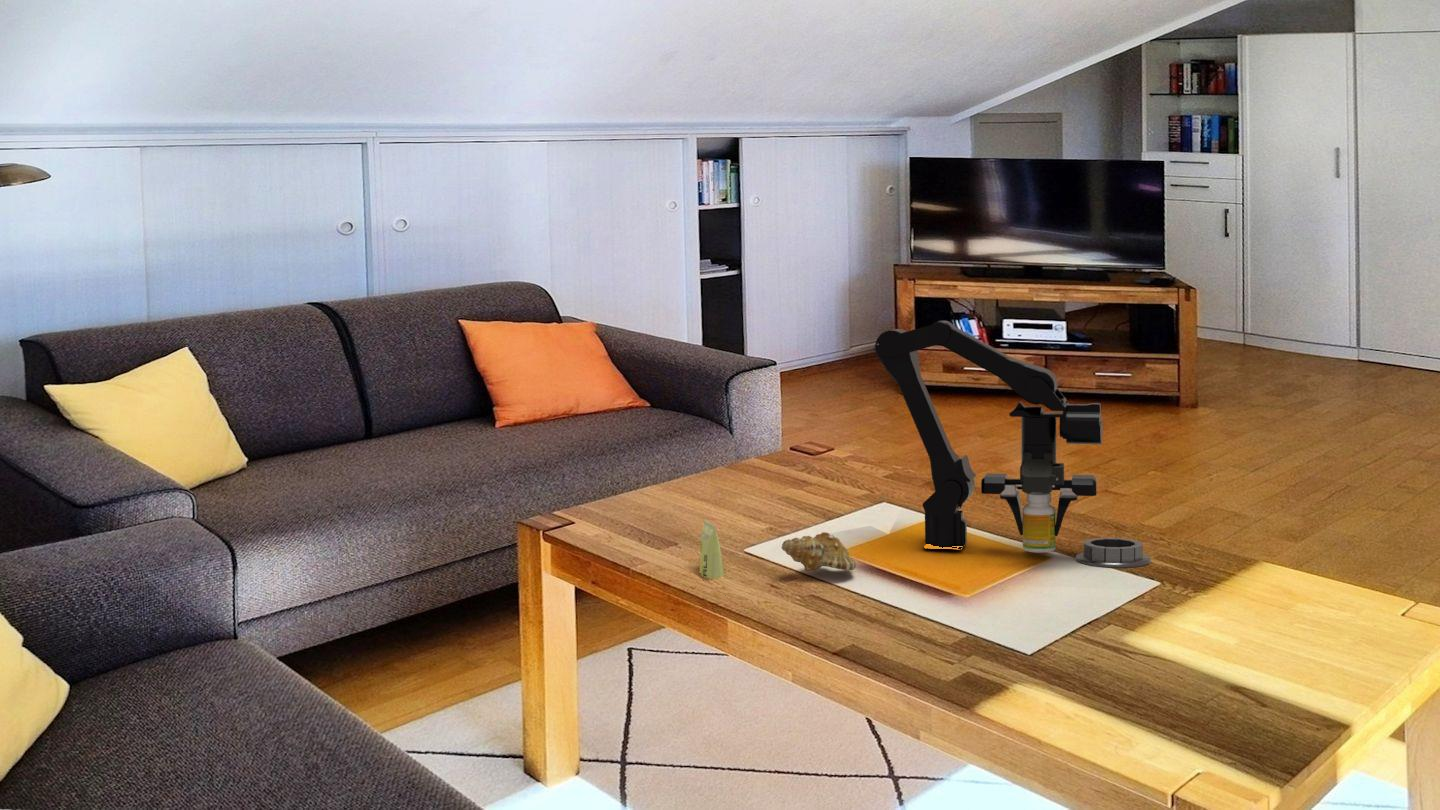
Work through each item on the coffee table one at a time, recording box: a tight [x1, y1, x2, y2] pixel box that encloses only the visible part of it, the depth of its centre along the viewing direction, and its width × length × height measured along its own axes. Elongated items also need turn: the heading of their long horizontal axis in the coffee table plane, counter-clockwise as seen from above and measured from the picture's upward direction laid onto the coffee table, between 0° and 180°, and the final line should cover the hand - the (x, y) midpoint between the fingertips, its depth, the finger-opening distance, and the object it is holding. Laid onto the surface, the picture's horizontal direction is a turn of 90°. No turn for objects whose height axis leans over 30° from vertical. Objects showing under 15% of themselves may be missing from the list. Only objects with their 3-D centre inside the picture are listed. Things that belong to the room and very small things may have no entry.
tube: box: [699, 519, 725, 580], centre depth 223 cm, size 6×5×20 cm
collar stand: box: [1075, 537, 1152, 569], centre depth 224 cm, size 12×12×3 cm
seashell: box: [780, 531, 857, 572], centre depth 220 cm, size 9×8×10 cm
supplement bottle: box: [1022, 492, 1056, 554], centre depth 227 cm, size 5×5×10 cm
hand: (1038, 535), depth 227 cm, fingers closed on supplement bottle, 5 cm apart
